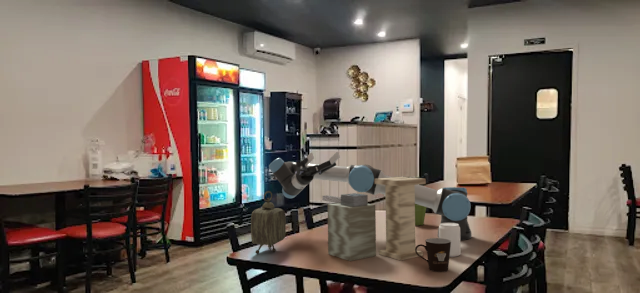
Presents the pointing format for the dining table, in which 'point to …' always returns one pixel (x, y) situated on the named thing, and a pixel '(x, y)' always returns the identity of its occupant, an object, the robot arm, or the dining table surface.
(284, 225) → the tabletop clock
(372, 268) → the dining table surface
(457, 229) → the beverage can
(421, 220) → the green tapered cylinder
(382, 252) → the beige grey streaked blocks
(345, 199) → the grey t-shaped bar
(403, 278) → the dining table surface
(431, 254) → the coffee mug
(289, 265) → the dining table surface
